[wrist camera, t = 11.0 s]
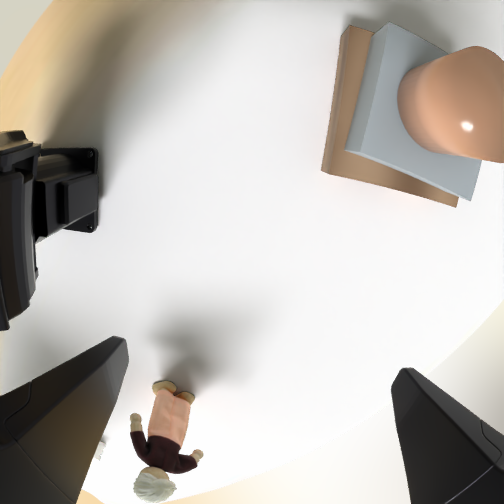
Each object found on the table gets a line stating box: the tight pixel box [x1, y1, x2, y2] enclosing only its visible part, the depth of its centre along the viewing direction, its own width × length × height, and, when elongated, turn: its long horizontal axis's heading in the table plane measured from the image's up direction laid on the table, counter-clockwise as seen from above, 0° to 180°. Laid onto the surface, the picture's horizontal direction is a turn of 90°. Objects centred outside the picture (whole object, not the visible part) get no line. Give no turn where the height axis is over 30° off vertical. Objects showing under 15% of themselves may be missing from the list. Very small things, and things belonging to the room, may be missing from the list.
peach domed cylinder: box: [397, 46, 504, 163], centre depth 10 cm, size 5×5×5 cm
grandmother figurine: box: [130, 381, 203, 503], centre depth 21 cm, size 8×4×13 cm, turn 59°
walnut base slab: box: [321, 25, 459, 207], centre depth 16 cm, size 10×10×3 cm
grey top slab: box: [344, 22, 482, 201], centre depth 13 cm, size 8×8×3 cm
